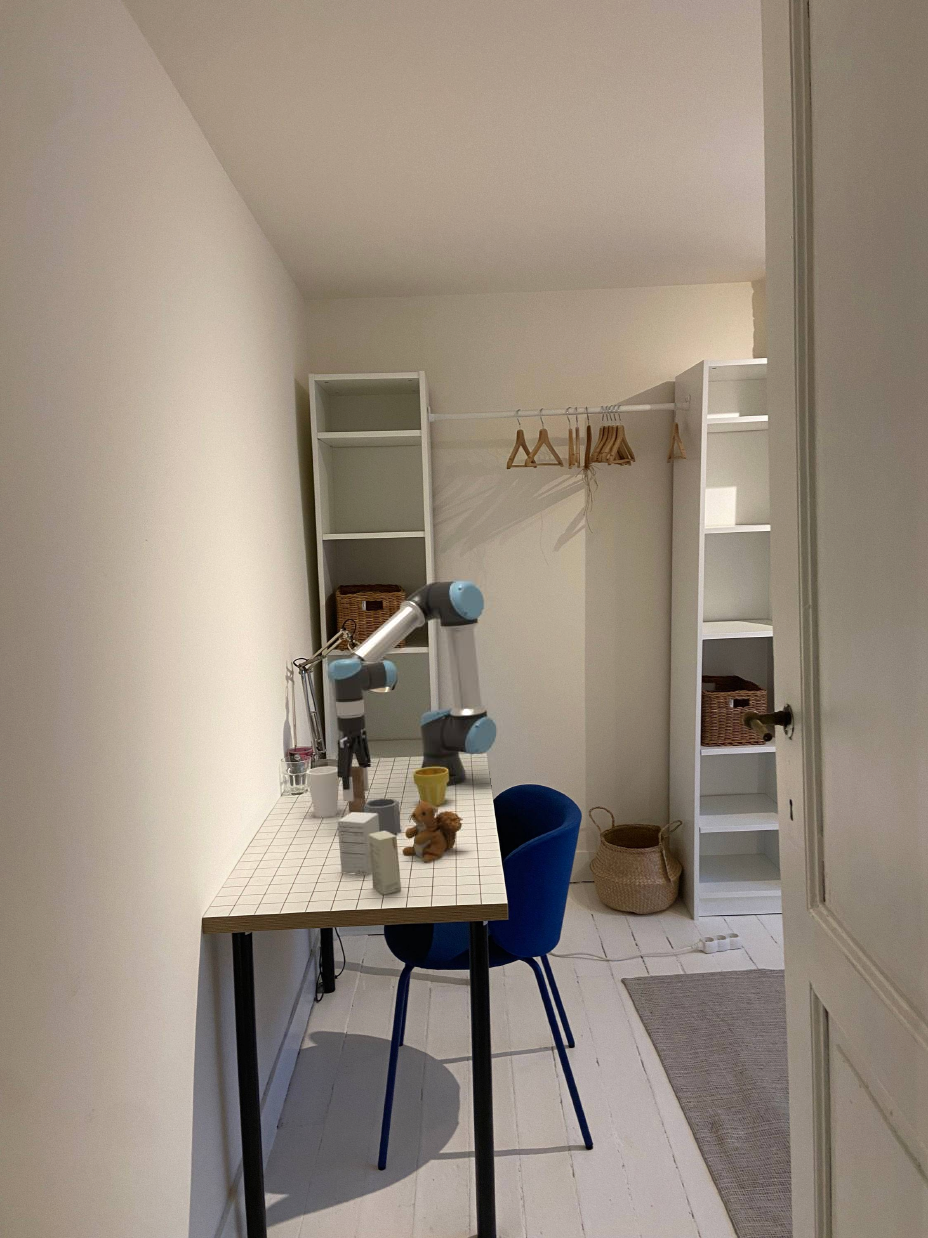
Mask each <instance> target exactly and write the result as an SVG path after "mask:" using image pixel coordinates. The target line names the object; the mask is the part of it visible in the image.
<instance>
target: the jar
mask: <svg viewBox="0 0 928 1238" xmlns="http://www.w3.org/2000/svg"><path fill="white" fill-rule="evenodd" d="M364 813H377V814H378V820H379V832H381V831H387V832H390V833H392V834H394V835H395V834H396V835H398V834H397V833H398V832H399V833H400V832H401V830H402V829H401V828H402V827H401V816H400V814H401V813H400V801H399V800H397V799H395V798H385V797H384V798H383V797H382V798H376V799H371V800H368V801H367V802H365V804H364ZM396 835H395V836H396Z"/></svg>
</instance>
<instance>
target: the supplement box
mask: <svg viewBox="0 0 928 1238" xmlns="http://www.w3.org/2000/svg"><path fill="white" fill-rule="evenodd" d="M336 822H337V831H338V845H339V856H340V859H339V860H340V869H341V873H342V872H346V873H345V874H347V873H355V874H354V875H358V874H361V875H362V876H370V874H372V870H371V859H370V847H369V836H368V835H369V834H372V833H376V832H379V820H378V814H377V813H359V812H351V813H350V814H349V813H348V814H347V815H345V816H343V817H342V818H340V819H338V820H337V821H336ZM361 875H360V876H361Z"/></svg>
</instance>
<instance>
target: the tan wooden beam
mask: <svg viewBox="0 0 928 1238" xmlns="http://www.w3.org/2000/svg"><path fill="white" fill-rule="evenodd" d="M350 777H352V782H353V796H354V801H347V802H348V812H349V813H348V814H350V813H351V812H359V813H364V804H365V803H366V791H365V789H364V775H363V767H361V766H359V765H358V766H357V765H355V766H353V765H352V767H351V775H350Z"/></svg>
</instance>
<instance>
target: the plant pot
mask: <svg viewBox="0 0 928 1238" xmlns="http://www.w3.org/2000/svg"><path fill="white" fill-rule="evenodd" d="M412 774H413V775H412V776H413V782H414V784H415V786H416V788H417V791H418V795H419V797H420V802H421V801H424V802H426V803H429V804H431V805H433V806H434V807H436V806H437V807H439V806H441V805H443V804H444V803H445V799H446V793H447V786H448V785H447V782H448V781H449V771H448V769H447V768H444V767H426V768H421V767H420V768H418V769H416V770H414V771H413V773H412Z"/></svg>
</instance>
